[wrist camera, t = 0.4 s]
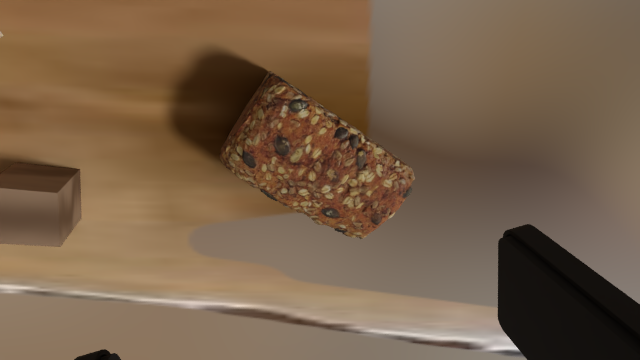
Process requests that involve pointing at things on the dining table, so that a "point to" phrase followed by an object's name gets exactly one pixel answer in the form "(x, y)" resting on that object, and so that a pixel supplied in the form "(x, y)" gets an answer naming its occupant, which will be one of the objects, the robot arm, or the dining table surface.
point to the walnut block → (38, 204)
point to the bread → (314, 161)
